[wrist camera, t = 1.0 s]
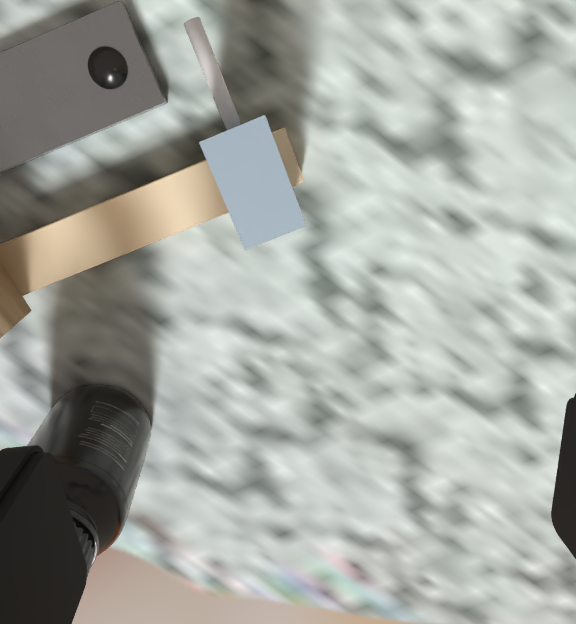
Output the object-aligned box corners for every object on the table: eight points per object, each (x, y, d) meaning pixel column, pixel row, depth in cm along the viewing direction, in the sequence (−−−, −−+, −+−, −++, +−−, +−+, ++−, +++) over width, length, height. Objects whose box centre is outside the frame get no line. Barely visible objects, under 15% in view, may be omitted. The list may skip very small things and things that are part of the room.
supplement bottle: (32, 398, 33) (-75, 538, 22) (128, 368, 33) (69, 493, 22) (78, 476, 36) (3, 637, 25) (168, 449, 36) (132, 598, 24)
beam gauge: (241, 14, 26) (240, -28, 19) (306, 193, 30) (326, 217, 22) (-93, 158, 27) (-219, 171, 20) (8, 313, 31) (-67, 374, 24)
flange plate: (124, 4, 26) (119, 0, 25) (167, 102, 28) (164, 102, 27) (-131, 116, 27) (-146, 115, 26) (-74, 204, 28) (-85, 207, 27)
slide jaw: (222, 13, 24) (216, -18, 19) (294, 205, 28) (306, 225, 23) (166, 37, 24) (144, 14, 19) (245, 225, 28) (244, 250, 23)
